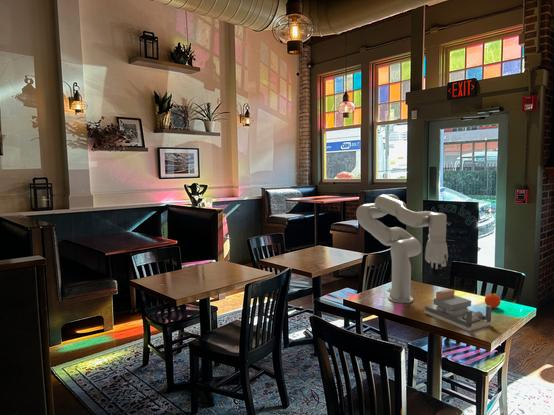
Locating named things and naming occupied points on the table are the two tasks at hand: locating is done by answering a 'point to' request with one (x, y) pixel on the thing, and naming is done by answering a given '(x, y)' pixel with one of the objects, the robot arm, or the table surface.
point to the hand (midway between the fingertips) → (435, 276)
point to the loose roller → (475, 316)
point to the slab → (450, 300)
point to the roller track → (459, 317)
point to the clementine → (492, 300)
